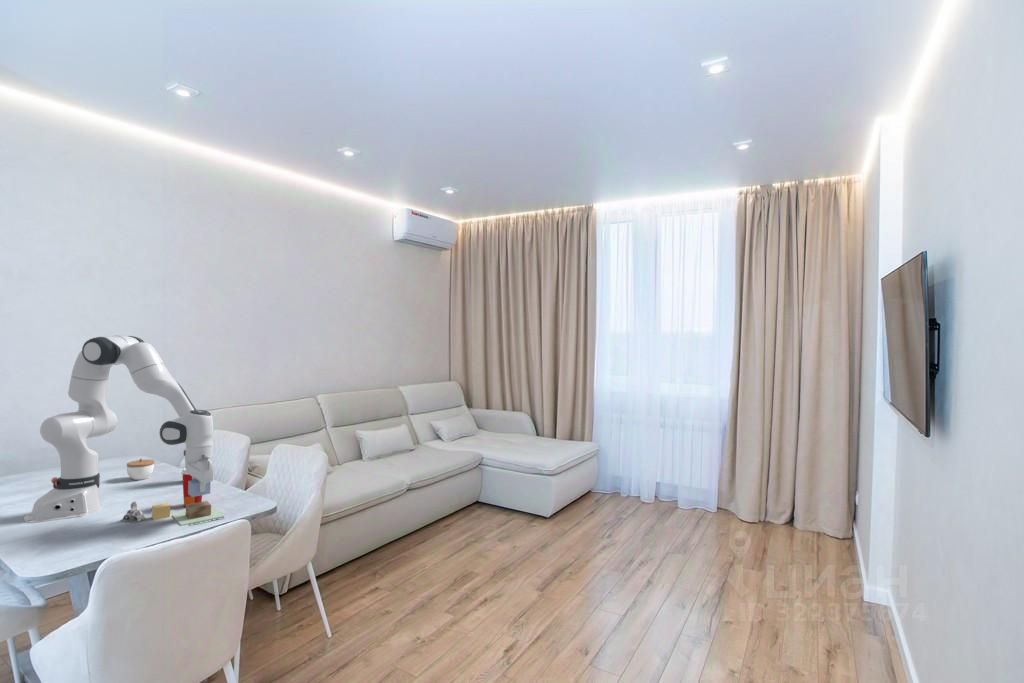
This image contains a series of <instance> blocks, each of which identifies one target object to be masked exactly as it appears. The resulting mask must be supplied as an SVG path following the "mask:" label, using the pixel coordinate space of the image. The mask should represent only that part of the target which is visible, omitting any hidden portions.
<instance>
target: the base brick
mask: <svg viewBox="0 0 1024 683" xmlns="http://www.w3.org/2000/svg"><path fill="white" fill-rule="evenodd" d="M211 507H212V504H211V503H210V502H209V501H208V500H204V501H203V500H202V502H198V503H192V504H187V505H186V507H185V512H186V516H187V517H188V518H189V519H195V518H200V517H204V516H209V515H211Z"/></svg>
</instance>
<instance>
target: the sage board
mask: <svg viewBox="0 0 1024 683" xmlns="http://www.w3.org/2000/svg"><path fill="white" fill-rule="evenodd" d="M172 518H174V520H175V521H176V522H177V523H178V524H179V525H180V526H186V525H187V526H189V525H191V524H196V523H200V522H205V521H209V520H213V519H219V518H224V519H225V515H224V514H223V513H222V512H220V511H219V509H217V508H216V507H215V506H211V515H209V516H204V517H200V518H195V519H189V518H188V517H187V516H186V511H183V512H179V513H178V512H177V513H173V514H172ZM205 523H206V522H205ZM200 524H201V523H200ZM196 525H197V524H196ZM191 526H192V525H191Z"/></svg>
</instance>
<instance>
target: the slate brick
mask: <svg viewBox="0 0 1024 683" xmlns="http://www.w3.org/2000/svg"><path fill="white" fill-rule="evenodd" d="M199 486H200V483H199V480H197V479H196V480H191V481H188V494H189V495H190V496H192V497H195V496H200V495H202V496H205V495H209V494H210V495H211V482H207V483H206V486H205V491H204V492H200V491H199Z"/></svg>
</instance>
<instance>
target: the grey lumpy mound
mask: <svg viewBox="0 0 1024 683" xmlns="http://www.w3.org/2000/svg"><path fill="white" fill-rule="evenodd" d="M144 520H146V517H145V515H144V514H143V512H142V510H138V504H137V501H136V500H135V501H134V500H133V501H132V502H131V504H130V509H128V510H127V512H126V514H124V516H123V517H122V519H120V521H121V522H122V521H123V522H134V523H138V522H141V521H144Z"/></svg>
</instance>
